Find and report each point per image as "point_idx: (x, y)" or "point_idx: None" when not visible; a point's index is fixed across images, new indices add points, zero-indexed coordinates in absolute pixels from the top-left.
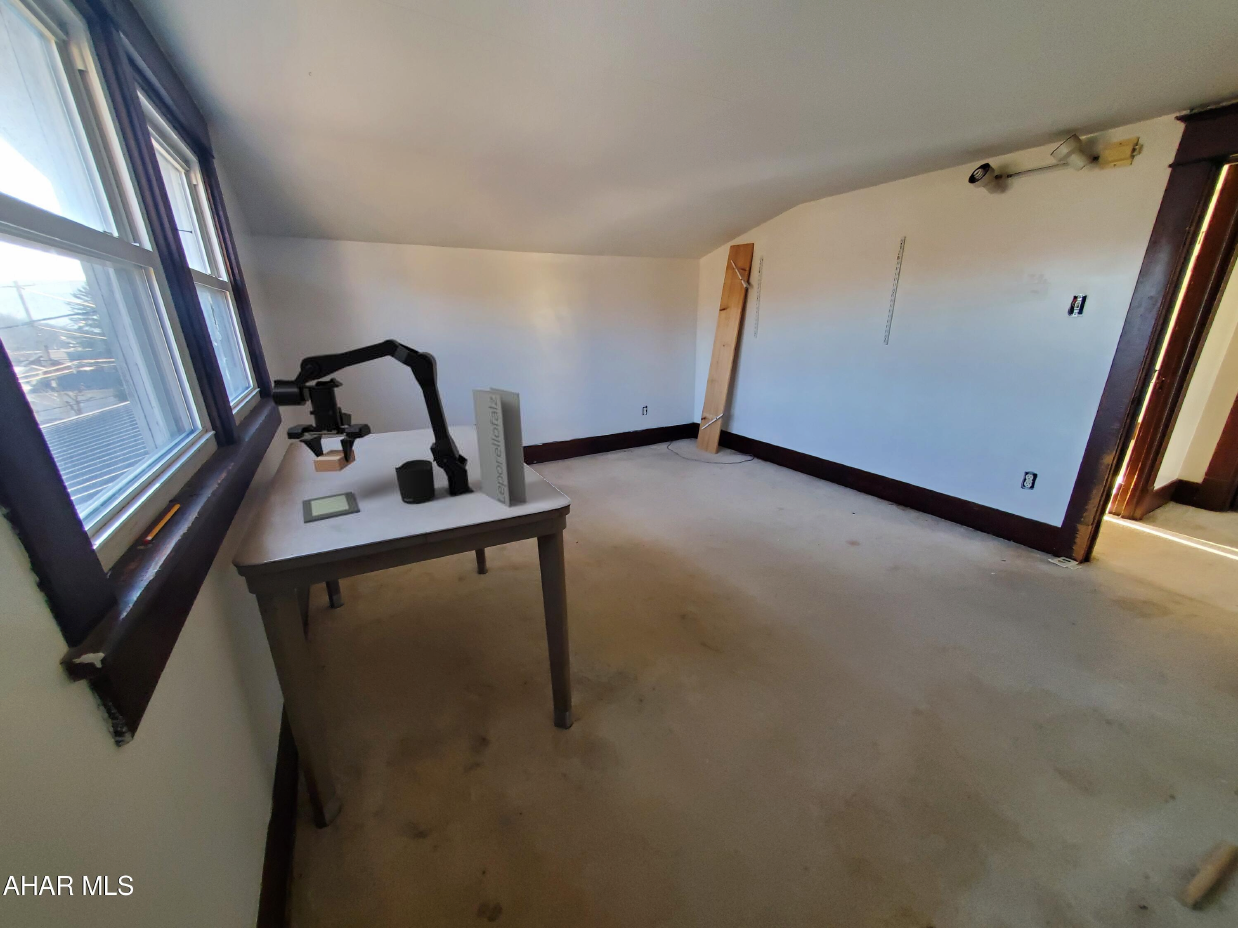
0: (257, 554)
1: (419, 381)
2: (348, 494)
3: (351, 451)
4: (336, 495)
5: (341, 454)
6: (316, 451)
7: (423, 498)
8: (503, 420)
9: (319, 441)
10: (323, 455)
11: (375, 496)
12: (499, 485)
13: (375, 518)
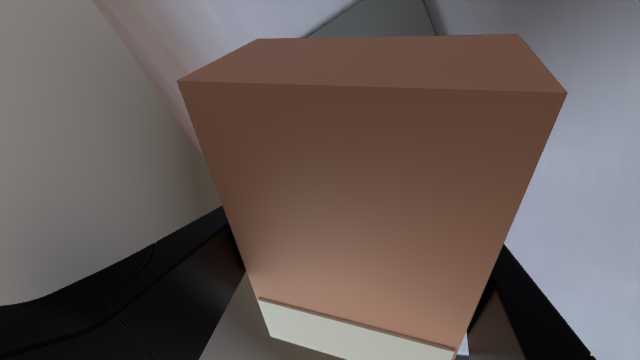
0: None
1: None
2: (406, 25)
3: (564, 332)
4: (348, 35)
5: (422, 290)
6: (214, 328)
7: None
8: None
9: (96, 358)
10: (260, 267)
11: (574, 37)
12: None
13: (578, 271)
